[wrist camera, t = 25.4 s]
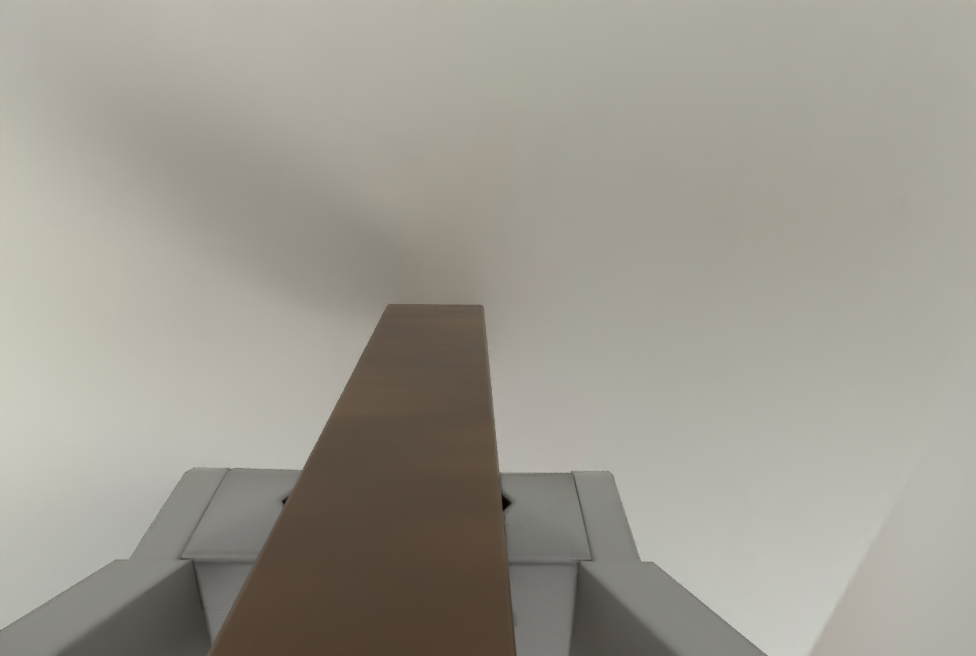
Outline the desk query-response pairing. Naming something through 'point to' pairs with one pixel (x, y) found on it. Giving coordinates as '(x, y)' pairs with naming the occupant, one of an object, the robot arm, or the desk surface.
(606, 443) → the desk surface
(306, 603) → the stick
